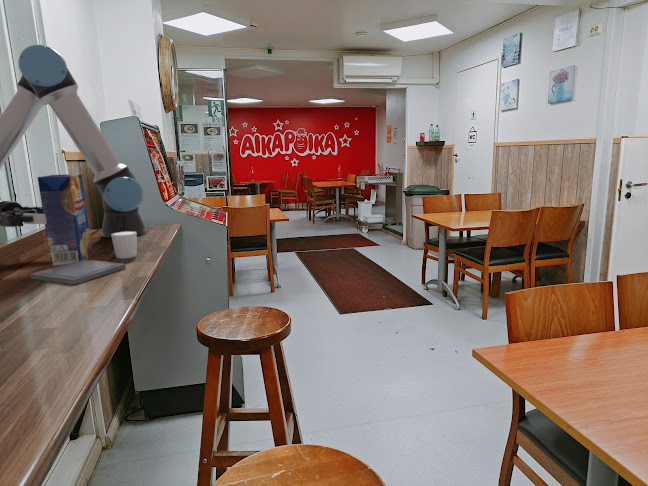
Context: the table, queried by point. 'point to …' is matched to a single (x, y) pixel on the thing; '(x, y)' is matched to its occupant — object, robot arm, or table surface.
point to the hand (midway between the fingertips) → (65, 215)
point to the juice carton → (65, 218)
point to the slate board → (77, 271)
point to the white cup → (125, 244)
